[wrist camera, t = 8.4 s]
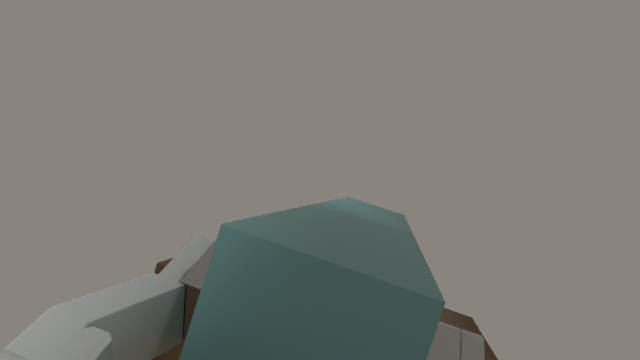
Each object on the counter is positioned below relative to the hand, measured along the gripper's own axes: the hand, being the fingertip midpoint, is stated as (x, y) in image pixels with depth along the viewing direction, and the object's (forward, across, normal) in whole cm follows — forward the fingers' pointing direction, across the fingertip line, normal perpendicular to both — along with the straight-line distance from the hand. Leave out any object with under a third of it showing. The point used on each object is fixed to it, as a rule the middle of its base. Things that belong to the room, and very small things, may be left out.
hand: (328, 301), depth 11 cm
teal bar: (+6, 0, +6) cm, 9 cm away
